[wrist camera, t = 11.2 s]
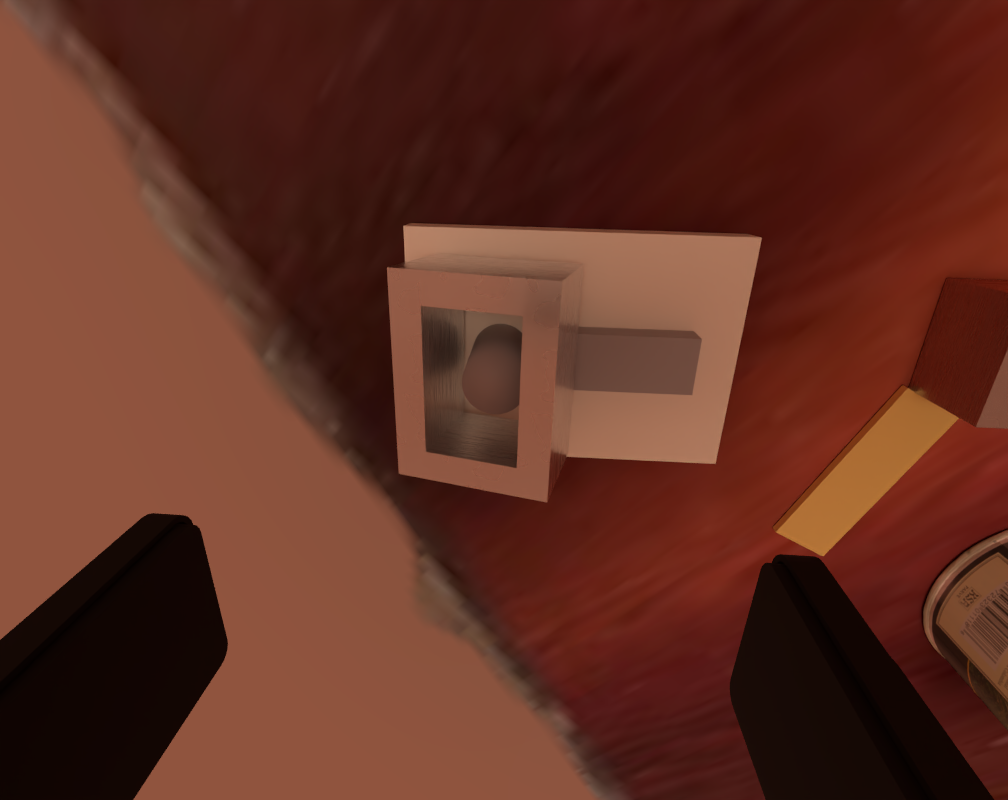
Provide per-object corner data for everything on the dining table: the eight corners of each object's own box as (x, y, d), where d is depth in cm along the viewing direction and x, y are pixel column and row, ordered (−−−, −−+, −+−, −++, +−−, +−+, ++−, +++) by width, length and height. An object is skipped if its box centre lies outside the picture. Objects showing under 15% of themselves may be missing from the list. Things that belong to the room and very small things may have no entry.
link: (583, 263, 20) (562, 281, 16) (568, 453, 23) (547, 502, 19) (435, 253, 21) (386, 267, 18) (439, 431, 25) (398, 473, 21)
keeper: (747, 234, 22) (812, 250, 17) (705, 448, 26) (747, 514, 21) (411, 222, 22) (376, 236, 17) (419, 435, 26) (392, 496, 21)
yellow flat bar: (902, 384, 24) (908, 387, 24) (952, 414, 25) (959, 418, 24) (772, 527, 27) (775, 532, 27) (819, 551, 28) (823, 556, 27)
